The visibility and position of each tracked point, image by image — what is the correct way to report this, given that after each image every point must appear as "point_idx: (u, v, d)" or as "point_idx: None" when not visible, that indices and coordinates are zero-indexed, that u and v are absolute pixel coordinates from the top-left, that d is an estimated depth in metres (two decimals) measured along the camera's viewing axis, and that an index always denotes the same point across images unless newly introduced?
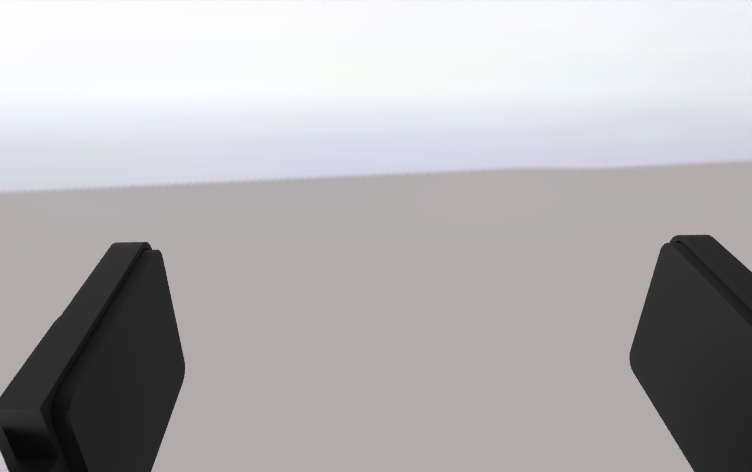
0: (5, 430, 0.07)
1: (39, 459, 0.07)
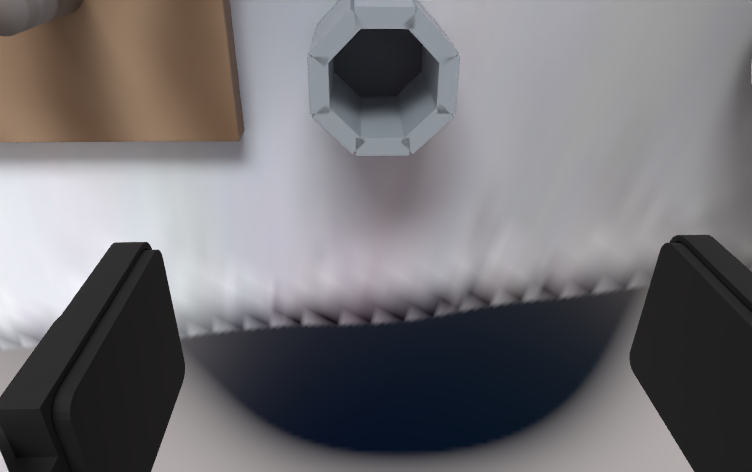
0: (5, 430, 0.07)
1: (39, 459, 0.07)
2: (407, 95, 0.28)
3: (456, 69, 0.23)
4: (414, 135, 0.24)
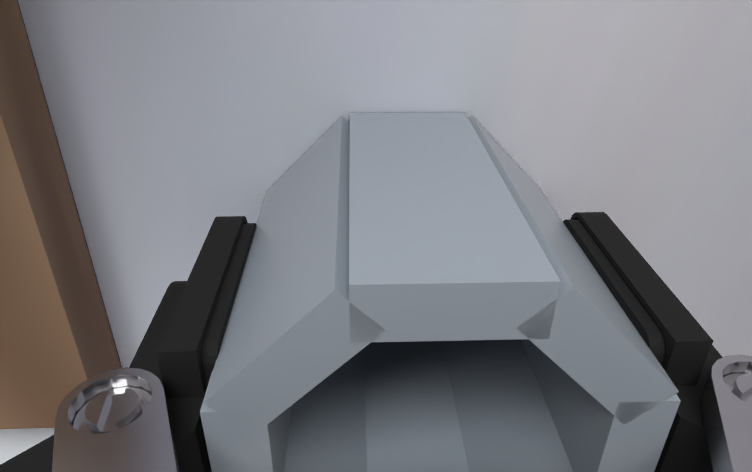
0: (163, 371, 0.07)
1: (188, 399, 0.08)
2: (468, 343, 0.12)
3: (662, 428, 0.07)
4: None
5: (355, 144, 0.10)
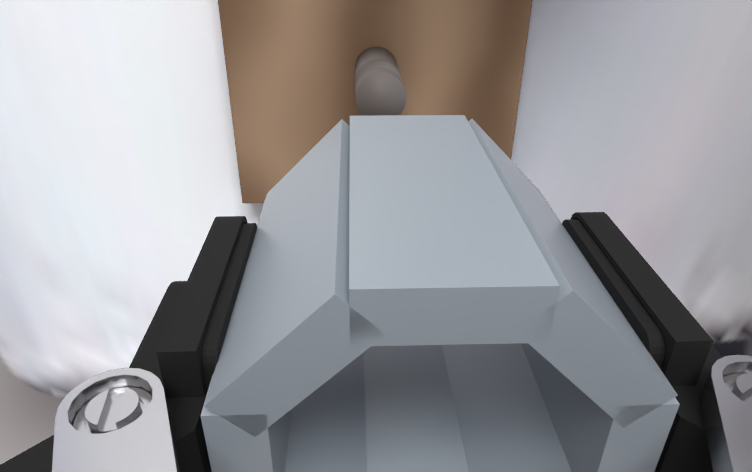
0: (163, 371, 0.07)
1: (188, 399, 0.08)
2: (468, 345, 0.12)
3: (661, 431, 0.07)
4: None
5: (355, 147, 0.10)
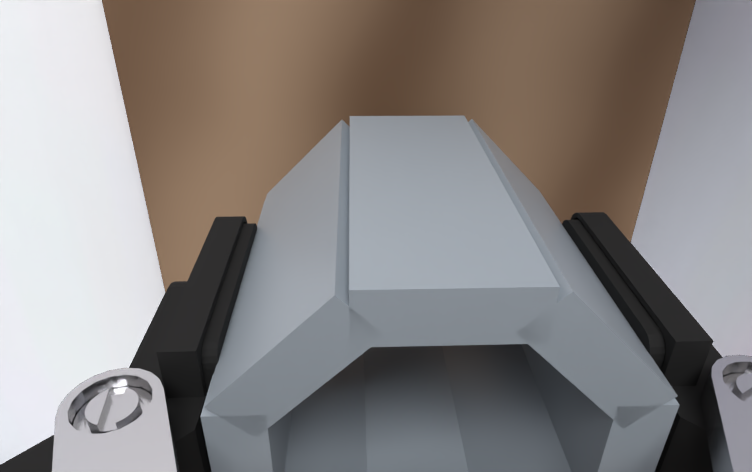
0: (163, 371, 0.07)
1: (188, 399, 0.08)
2: (468, 345, 0.12)
3: (661, 432, 0.07)
4: None
5: (355, 148, 0.10)
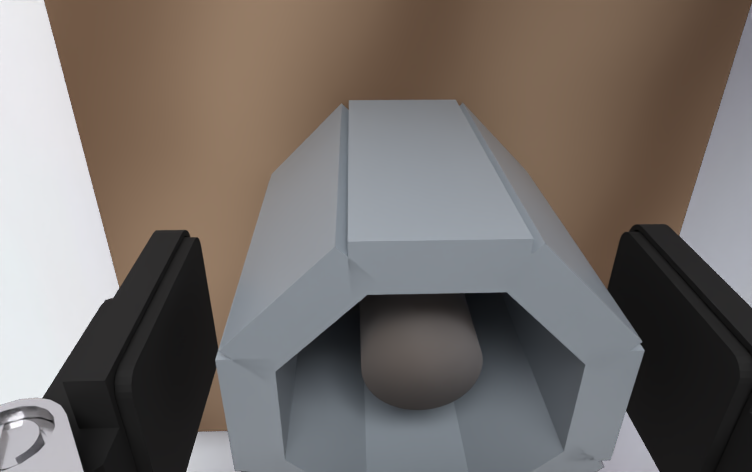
0: (72, 401, 0.07)
1: (101, 430, 0.07)
2: None
3: (629, 376, 0.08)
4: None
5: (354, 127, 0.11)
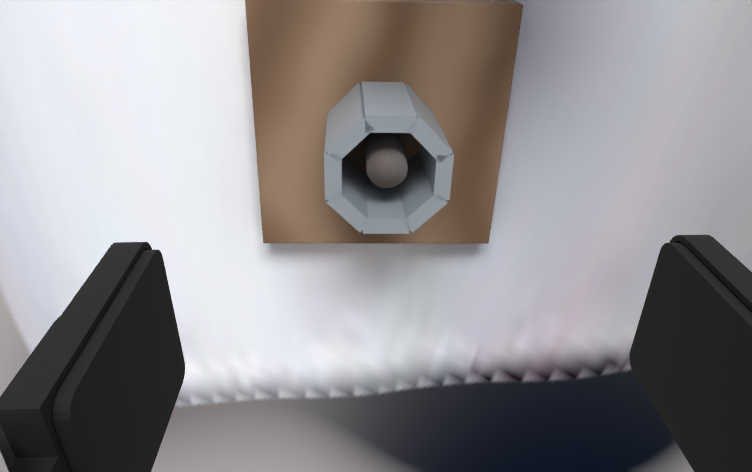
0: (5, 430, 0.07)
1: (39, 459, 0.07)
2: None
3: (450, 165, 0.27)
4: (413, 217, 0.28)
5: (364, 90, 0.29)
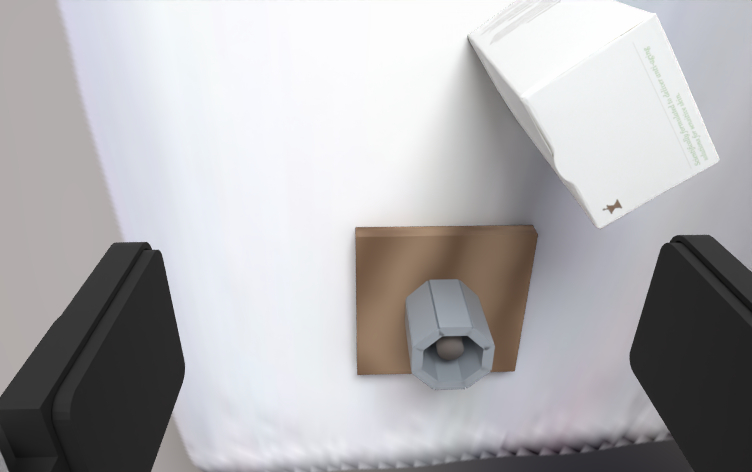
0: (5, 430, 0.07)
1: (39, 459, 0.07)
2: None
3: (492, 351, 0.42)
4: (468, 380, 0.43)
5: (433, 292, 0.44)
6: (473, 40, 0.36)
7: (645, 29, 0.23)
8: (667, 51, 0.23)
